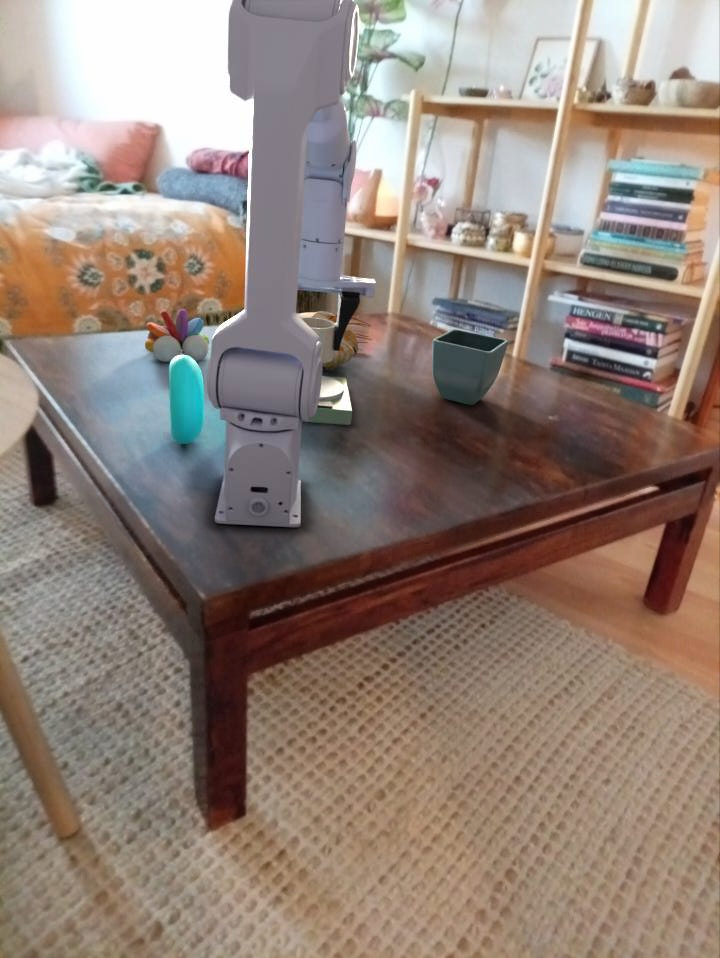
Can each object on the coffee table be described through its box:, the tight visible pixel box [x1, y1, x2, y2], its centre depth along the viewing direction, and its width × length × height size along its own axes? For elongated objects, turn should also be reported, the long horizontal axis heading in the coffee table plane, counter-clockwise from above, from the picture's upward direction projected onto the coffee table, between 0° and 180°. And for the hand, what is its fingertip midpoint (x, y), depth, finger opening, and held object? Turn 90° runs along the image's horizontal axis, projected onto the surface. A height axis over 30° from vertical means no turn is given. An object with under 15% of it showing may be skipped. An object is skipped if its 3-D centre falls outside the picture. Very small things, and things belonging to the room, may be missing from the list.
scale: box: [302, 375, 353, 426], centre depth 96 cm, size 13×11×3 cm
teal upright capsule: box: [168, 354, 205, 445], centre depth 80 cm, size 10×10×10 cm
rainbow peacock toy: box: [144, 308, 210, 363], centre depth 107 cm, size 8×10×7 cm
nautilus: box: [297, 310, 372, 372], centre depth 113 cm, size 8×22×15 cm
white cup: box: [300, 317, 336, 363], centre depth 92 cm, size 6×6×5 cm
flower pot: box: [431, 328, 509, 406], centre depth 103 cm, size 9×9×9 cm
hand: (312, 346), depth 93 cm, fingers closed on white cup, 6 cm apart
